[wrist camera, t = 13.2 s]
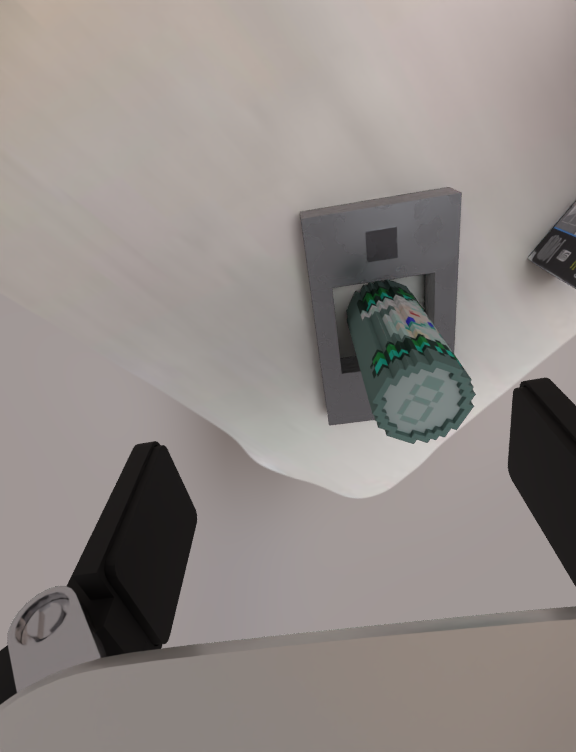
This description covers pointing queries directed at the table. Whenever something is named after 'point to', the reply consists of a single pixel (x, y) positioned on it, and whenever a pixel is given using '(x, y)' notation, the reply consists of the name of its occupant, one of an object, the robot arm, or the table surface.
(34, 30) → the table surface
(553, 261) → the label tape cartridge
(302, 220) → the rail plate
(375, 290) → the can
